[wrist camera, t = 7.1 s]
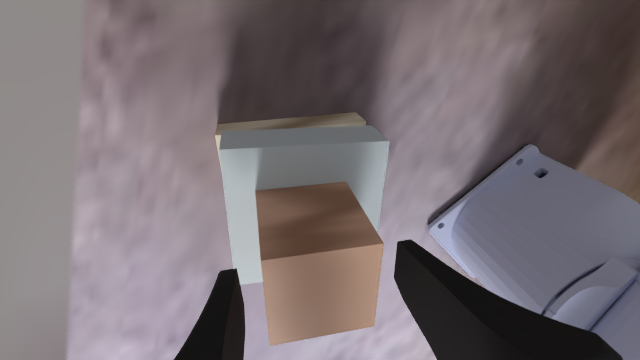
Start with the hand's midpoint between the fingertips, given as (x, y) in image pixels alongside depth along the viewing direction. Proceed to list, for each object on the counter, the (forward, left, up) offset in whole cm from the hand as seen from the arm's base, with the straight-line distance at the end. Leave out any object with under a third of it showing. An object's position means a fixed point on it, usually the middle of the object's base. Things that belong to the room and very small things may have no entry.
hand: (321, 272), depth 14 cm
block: (0, 0, -4) cm, 4 cm away
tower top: (0, 0, -6) cm, 6 cm away
